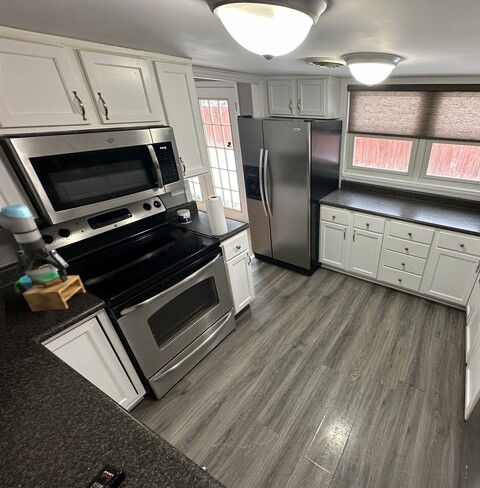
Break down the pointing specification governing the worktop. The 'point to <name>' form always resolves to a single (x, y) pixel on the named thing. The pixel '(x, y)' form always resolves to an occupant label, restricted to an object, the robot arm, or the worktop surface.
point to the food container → (44, 276)
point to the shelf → (53, 295)
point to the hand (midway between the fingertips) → (51, 281)
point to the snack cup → (24, 283)
